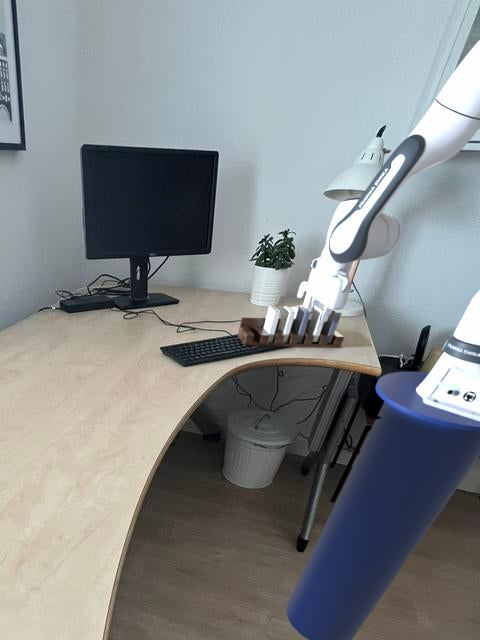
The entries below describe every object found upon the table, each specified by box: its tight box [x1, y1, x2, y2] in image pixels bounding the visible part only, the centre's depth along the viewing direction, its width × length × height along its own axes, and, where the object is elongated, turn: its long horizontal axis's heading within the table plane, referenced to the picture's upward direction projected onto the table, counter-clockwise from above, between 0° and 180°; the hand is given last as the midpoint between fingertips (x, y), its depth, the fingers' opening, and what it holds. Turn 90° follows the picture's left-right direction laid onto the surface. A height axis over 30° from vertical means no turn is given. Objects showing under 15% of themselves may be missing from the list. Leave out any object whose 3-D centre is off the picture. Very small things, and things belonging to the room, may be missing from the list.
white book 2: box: [278, 305, 296, 342], centre depth 134 cm, size 6×2×9 cm, turn 0°
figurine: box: [290, 280, 313, 319], centre depth 153 cm, size 7×9×15 cm
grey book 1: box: [292, 305, 311, 343], centre depth 134 cm, size 6×2×9 cm, turn 0°
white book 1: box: [263, 305, 281, 342], centre depth 134 cm, size 6×2×9 cm, turn 0°
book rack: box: [237, 317, 345, 349], centre depth 136 cm, size 9×30×6 cm, turn 90°
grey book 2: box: [322, 310, 342, 343], centre depth 135 cm, size 6×2×9 cm, turn 0°
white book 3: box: [307, 305, 325, 342], centre depth 134 cm, size 6×2×9 cm, turn 0°
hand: (318, 317), depth 133 cm, fingers closed on white book 3, 6 cm apart
